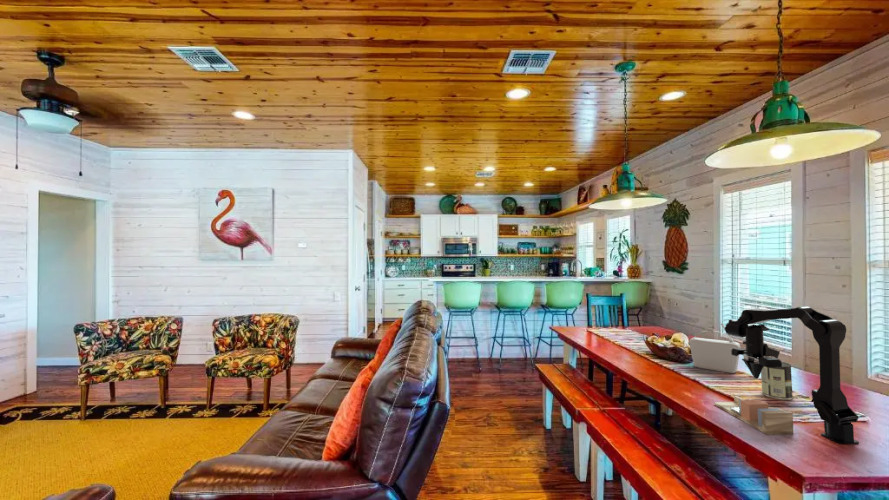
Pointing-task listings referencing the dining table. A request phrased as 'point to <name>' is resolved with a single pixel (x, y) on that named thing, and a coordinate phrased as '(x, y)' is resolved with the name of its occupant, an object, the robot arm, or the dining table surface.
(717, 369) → the radio
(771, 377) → the coffee can
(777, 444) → the dining table surface
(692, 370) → the dining table surface
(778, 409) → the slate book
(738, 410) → the bookend
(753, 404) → the terracotta book
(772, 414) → the beige piece
